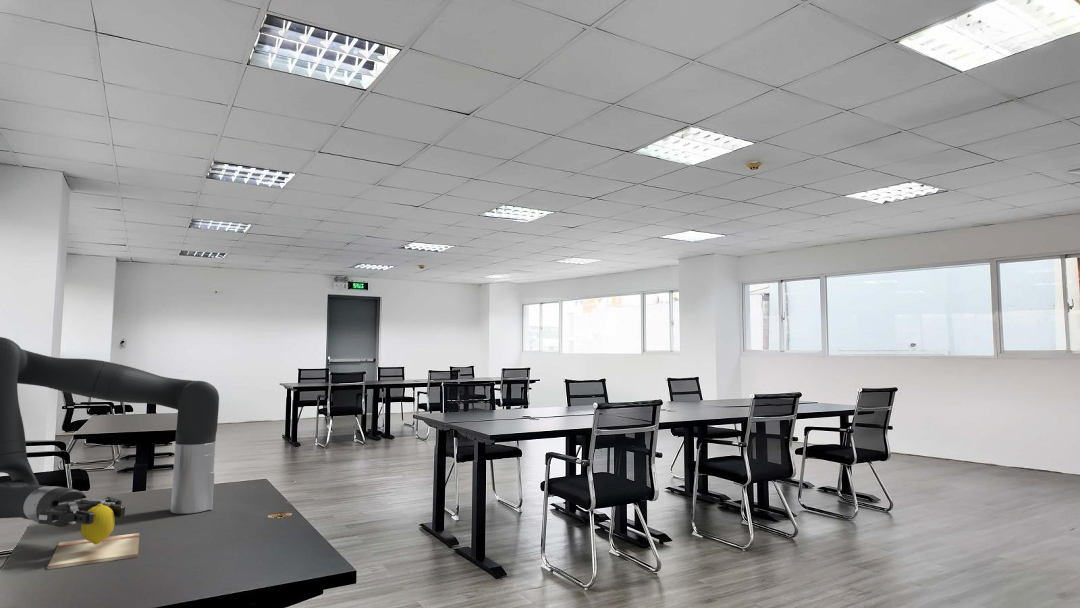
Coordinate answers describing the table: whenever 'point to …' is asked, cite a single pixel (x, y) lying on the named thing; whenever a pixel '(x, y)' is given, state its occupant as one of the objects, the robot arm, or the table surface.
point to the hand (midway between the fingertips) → (107, 515)
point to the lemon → (99, 524)
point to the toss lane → (95, 551)
